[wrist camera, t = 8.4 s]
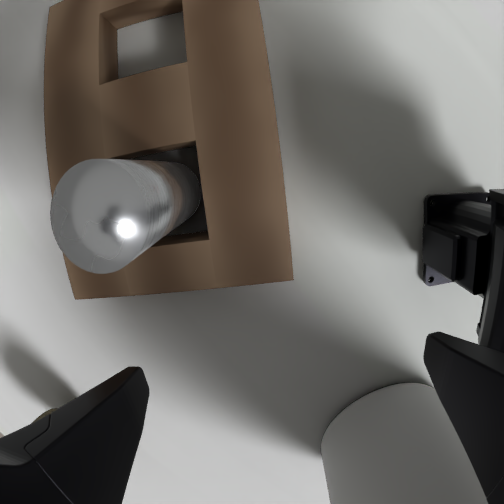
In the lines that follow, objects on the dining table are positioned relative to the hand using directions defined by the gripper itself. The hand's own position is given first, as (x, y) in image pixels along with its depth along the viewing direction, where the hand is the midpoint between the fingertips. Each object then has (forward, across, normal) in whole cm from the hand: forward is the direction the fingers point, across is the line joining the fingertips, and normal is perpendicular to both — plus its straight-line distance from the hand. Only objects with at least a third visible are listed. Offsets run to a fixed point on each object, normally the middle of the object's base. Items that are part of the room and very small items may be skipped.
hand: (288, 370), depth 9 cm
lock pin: (+12, +6, -5) cm, 14 cm away
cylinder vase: (+12, -9, +18) cm, 24 cm away
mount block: (+12, +6, -10) cm, 17 cm away
